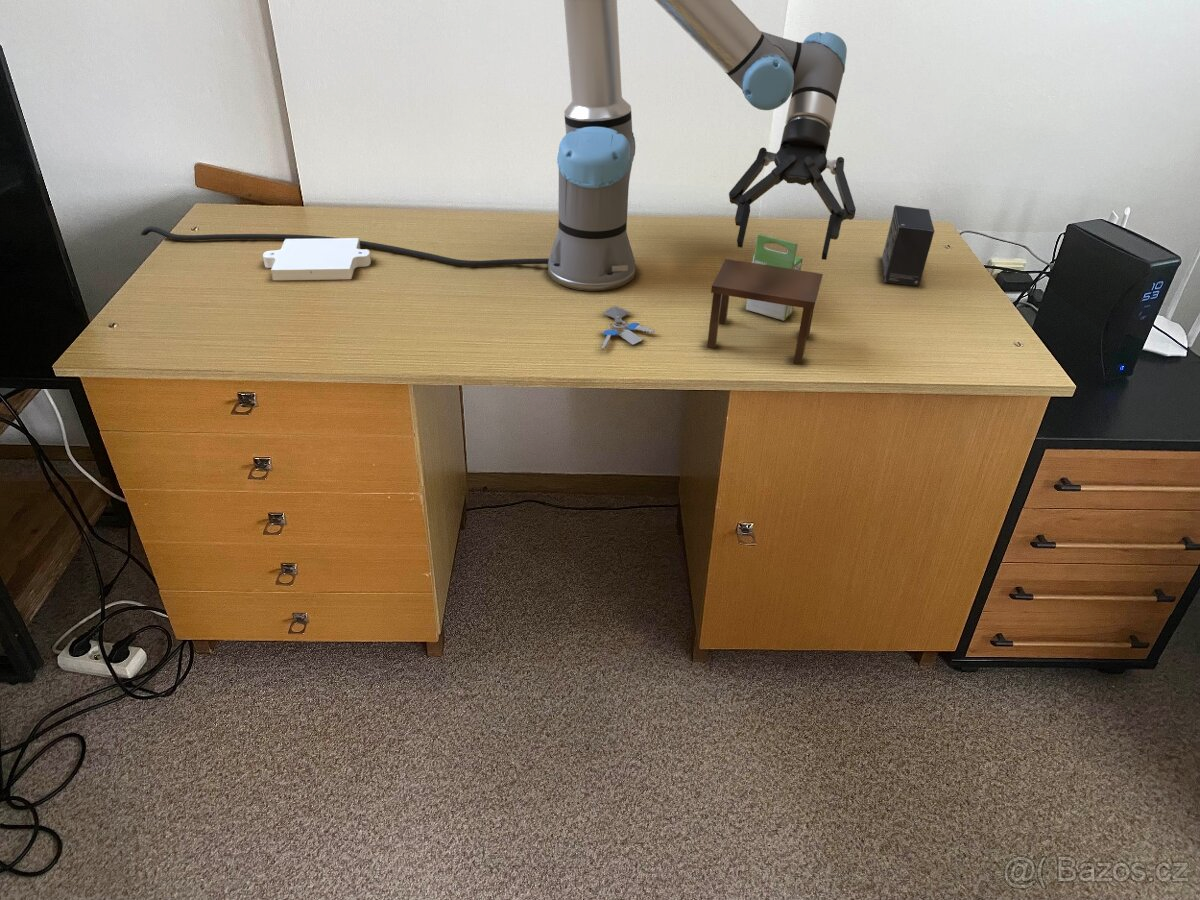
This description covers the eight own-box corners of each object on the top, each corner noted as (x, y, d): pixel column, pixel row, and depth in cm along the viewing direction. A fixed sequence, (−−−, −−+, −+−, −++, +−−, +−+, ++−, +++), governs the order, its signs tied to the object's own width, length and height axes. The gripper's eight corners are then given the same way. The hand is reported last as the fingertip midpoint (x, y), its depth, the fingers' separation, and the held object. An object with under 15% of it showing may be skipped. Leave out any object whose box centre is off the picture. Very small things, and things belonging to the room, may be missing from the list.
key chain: (603, 308, 144) (603, 303, 143) (653, 310, 144) (654, 305, 143) (600, 351, 133) (600, 346, 132) (655, 353, 133) (655, 348, 132)
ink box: (793, 312, 145) (807, 235, 137) (784, 322, 142) (797, 244, 134) (754, 301, 148) (766, 225, 140) (744, 310, 145) (755, 233, 137)
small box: (921, 287, 154) (936, 230, 148) (883, 283, 155) (896, 226, 148) (916, 262, 162) (930, 207, 156) (880, 258, 163) (893, 204, 157)
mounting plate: (257, 280, 149) (255, 270, 148) (273, 249, 159) (271, 239, 158) (366, 279, 150) (364, 268, 149) (374, 247, 161) (373, 237, 160)
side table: (704, 347, 135) (711, 285, 128) (717, 318, 142) (725, 258, 136) (802, 365, 131) (815, 302, 125) (811, 334, 139) (822, 273, 133)
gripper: (883, 149, 145) (858, 270, 142) (733, 131, 150) (706, 248, 148) (889, 125, 137) (863, 252, 135) (731, 107, 143) (703, 229, 140)
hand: (781, 250), depth 141 cm, fingers open, 13 cm apart
